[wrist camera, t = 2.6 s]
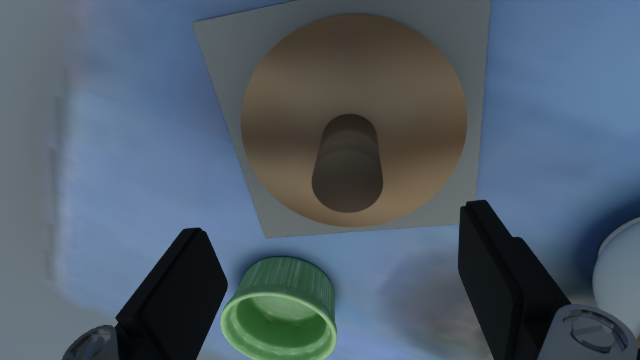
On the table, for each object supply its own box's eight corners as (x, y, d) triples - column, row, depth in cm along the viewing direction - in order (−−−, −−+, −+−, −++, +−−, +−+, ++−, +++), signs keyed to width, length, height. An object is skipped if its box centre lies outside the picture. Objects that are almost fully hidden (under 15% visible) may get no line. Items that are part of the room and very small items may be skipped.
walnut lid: (214, 40, 17) (155, 58, 12) (468, -13, 15) (526, -18, 10) (275, 227, 23) (252, 290, 18) (459, 211, 21) (491, 278, 16)
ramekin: (343, 254, 25) (340, 301, 21) (337, 325, 29) (334, 374, 25) (232, 244, 25) (210, 287, 22) (244, 315, 30) (227, 361, 26)
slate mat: (194, 22, 17) (191, 22, 17) (490, -42, 14) (494, -43, 14) (266, 234, 24) (265, 238, 24) (472, 219, 21) (474, 223, 21)
